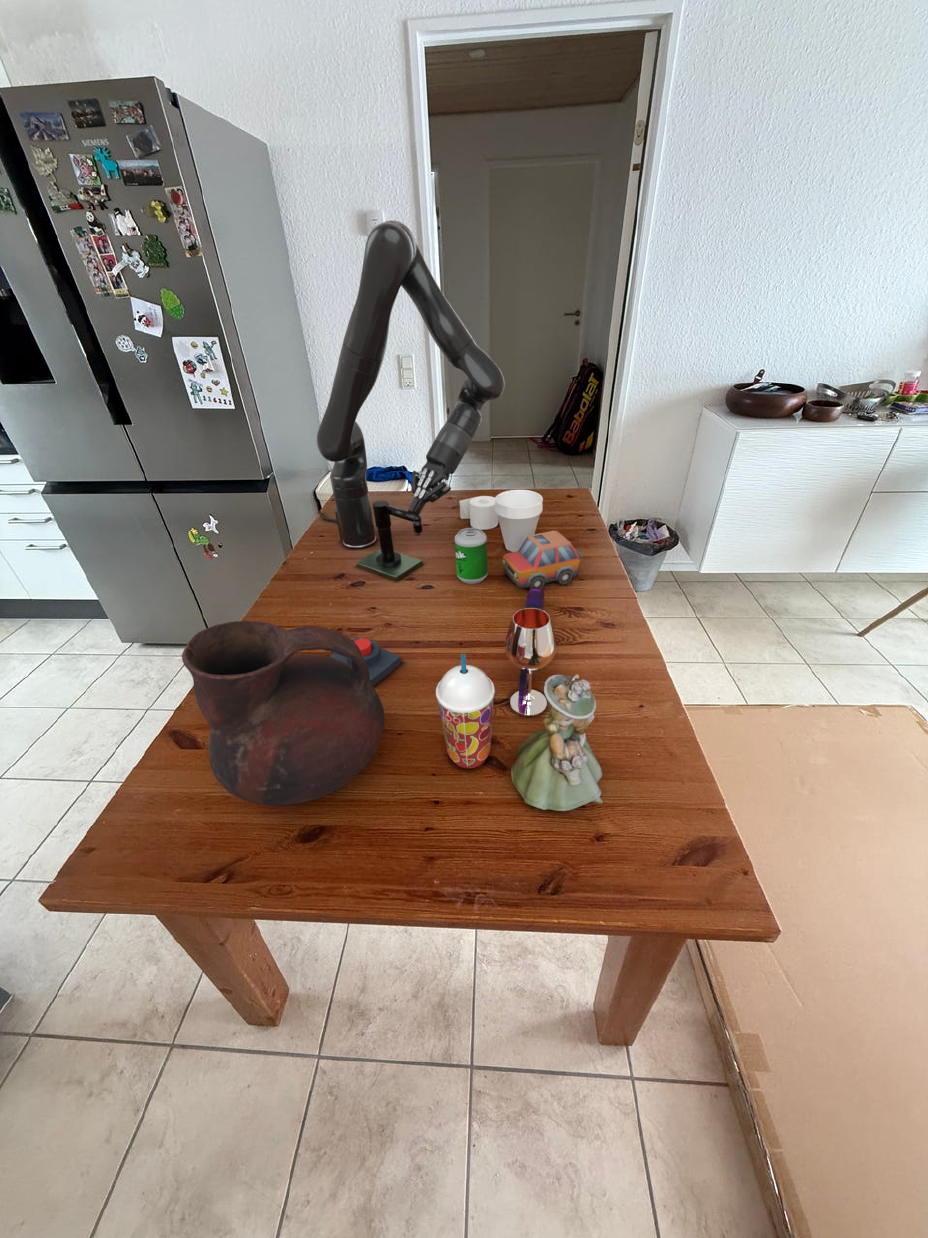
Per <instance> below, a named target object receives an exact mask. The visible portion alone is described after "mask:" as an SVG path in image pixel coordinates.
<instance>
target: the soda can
mask: <svg viewBox="0 0 928 1238" xmlns="http://www.w3.org/2000/svg"><path fill="white" fill-rule="evenodd" d="M454 547H455V548H454V550H455V564H456V577H457V578H458V580H460V581H461V582H462V583H464V584H468V585H476V584H479V583H482V582H483V581H484V580H485V579H486V578H487V576H488V573H489V572H488V537H487V534H486V533H485V532H483V530H481V529H477V528H473V527H466V528H463V529H461V530H458V532H457V533H456V534H455V536H454Z"/></svg>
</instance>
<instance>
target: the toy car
mask: <svg viewBox="0 0 928 1238" xmlns="http://www.w3.org/2000/svg"><path fill="white" fill-rule="evenodd" d="M583 555H584V554H582V552H580V551H579V550H578V549H576V548H575V547H574V546H573V544H572V542H571V541H570V540H568V539H567V538H566V537H565V536H564V535H563V534H561V533H560V532H559V531H558V530H549V531H545V532H540V533H535V534H534V535H530V536H528V537H527V538H526V540H525V541H524V543H523V544H522V546H521V547H520V549H519V550H518V551H517V552H508V553H504V554H503V556H502V564H503V572H504V573H505V575H507V577H508V578H510V580H511V582H513V584H514V585H515V586H516V587H518V588H522V589H524V588H529V590H530V589H531V588H533V587H538V588H541V589H542V590H543V588H544V587H545V585H546V584H548V583H551V582H554V581H555V582H558V583H559V584H560V585H563V586H564V585H567V584H569V583H570V582H571V581H572V580H573V578H575V577H576V576H578V575H579V574H580V568H579V566H580V563H581V559H583V557H584V556H583Z"/></svg>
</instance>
